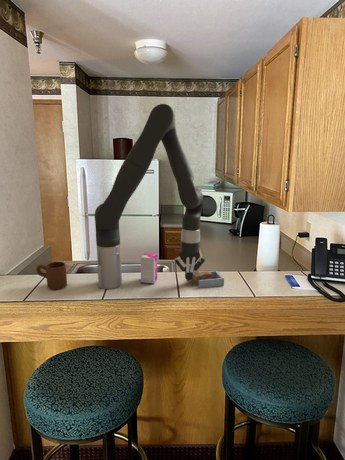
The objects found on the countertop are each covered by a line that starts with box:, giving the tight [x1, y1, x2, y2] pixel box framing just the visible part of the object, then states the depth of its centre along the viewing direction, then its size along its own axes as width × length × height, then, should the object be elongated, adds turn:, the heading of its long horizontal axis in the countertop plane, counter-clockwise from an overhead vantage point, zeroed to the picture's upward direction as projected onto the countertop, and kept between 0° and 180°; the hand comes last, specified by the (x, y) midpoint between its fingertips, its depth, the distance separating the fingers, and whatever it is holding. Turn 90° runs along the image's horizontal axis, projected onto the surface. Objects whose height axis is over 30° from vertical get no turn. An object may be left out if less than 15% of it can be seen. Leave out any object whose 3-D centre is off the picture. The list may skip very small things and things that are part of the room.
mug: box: [35, 261, 68, 291], centre depth 132 cm, size 12×8×9 cm, turn 83°
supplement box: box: [140, 252, 158, 285], centre depth 137 cm, size 6×6×12 cm
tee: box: [191, 270, 213, 287], centre depth 137 cm, size 8×6×4 cm
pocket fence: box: [198, 270, 225, 289], centre depth 137 cm, size 10×9×3 cm
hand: (188, 280), depth 135 cm, fingers closed
